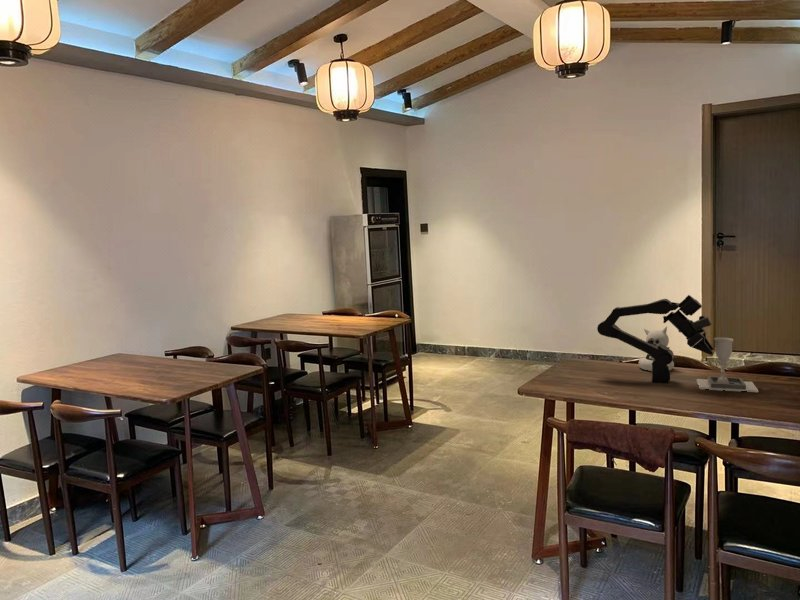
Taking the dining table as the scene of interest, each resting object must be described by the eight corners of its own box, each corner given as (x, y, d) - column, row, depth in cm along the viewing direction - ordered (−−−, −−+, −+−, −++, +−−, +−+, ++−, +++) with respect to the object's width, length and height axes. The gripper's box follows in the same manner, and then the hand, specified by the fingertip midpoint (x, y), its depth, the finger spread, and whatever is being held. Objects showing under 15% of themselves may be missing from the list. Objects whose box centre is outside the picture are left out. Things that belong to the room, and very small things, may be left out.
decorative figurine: (633, 370, 270) (634, 326, 268) (644, 364, 281) (644, 322, 279) (668, 374, 260) (669, 329, 258) (678, 367, 271) (678, 324, 269)
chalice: (736, 384, 235) (738, 340, 233) (722, 386, 234) (723, 341, 232) (723, 380, 242) (724, 337, 241) (708, 382, 241) (709, 338, 239)
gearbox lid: (699, 389, 234) (699, 383, 234) (696, 380, 247) (696, 375, 247) (758, 392, 227) (758, 386, 227) (751, 383, 240) (752, 378, 240)
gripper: (697, 313, 231) (728, 342, 227) (699, 307, 247) (729, 334, 243) (674, 332, 236) (705, 361, 231) (678, 325, 252) (706, 352, 248)
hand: (712, 352), depth 238 cm, fingers open, 9 cm apart
